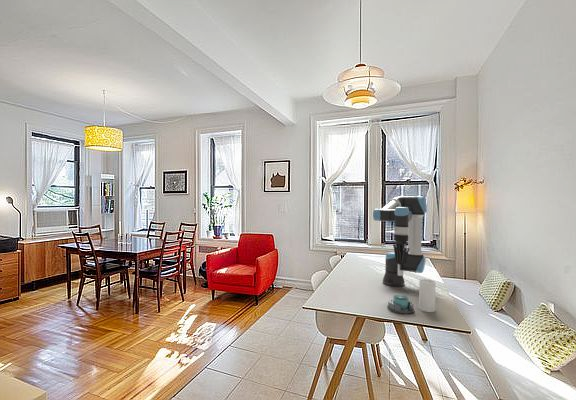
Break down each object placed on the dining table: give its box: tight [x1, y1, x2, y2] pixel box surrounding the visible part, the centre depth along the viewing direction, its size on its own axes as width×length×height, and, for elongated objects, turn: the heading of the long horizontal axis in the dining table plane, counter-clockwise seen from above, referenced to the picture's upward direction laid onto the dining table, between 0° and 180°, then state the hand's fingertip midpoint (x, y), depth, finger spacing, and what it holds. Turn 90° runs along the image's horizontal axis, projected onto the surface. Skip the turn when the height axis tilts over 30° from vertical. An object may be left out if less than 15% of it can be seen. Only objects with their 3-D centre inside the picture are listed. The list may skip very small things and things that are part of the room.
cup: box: [418, 278, 437, 313], centre depth 162 cm, size 8×8×16 cm
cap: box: [392, 294, 409, 310], centre depth 162 cm, size 8×8×6 cm
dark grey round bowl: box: [387, 298, 415, 315], centre depth 162 cm, size 14×14×4 cm
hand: (400, 275), depth 164 cm, fingers closed
